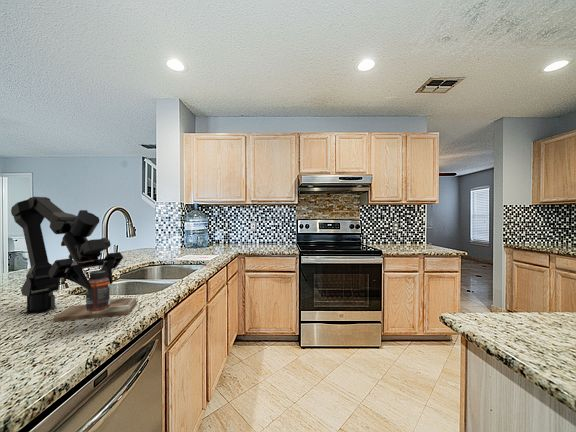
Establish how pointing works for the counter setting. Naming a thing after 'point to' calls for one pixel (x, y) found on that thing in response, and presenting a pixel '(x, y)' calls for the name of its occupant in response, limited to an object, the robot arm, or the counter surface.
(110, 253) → the robot arm
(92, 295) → the supplement bottle
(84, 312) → the walnut board
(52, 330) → the counter surface
